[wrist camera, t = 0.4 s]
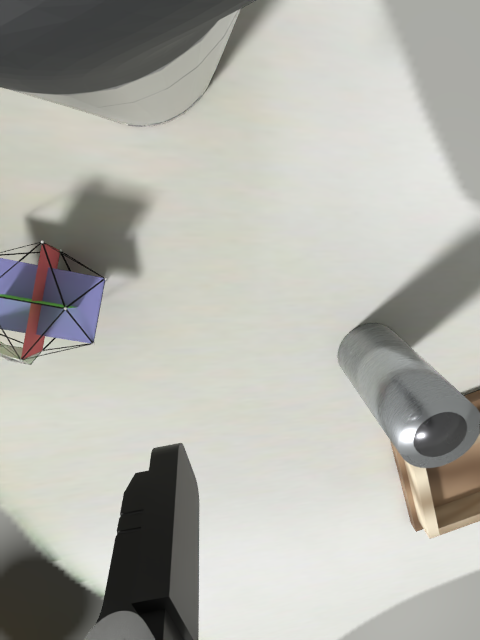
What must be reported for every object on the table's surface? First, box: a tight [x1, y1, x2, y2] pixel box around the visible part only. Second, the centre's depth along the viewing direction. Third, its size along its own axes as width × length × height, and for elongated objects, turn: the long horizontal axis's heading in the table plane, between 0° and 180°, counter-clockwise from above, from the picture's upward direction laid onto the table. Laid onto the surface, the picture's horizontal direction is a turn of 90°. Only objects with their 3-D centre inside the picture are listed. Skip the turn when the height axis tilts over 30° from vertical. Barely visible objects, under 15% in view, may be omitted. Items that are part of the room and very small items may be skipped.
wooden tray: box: [390, 390, 480, 539], centre depth 37 cm, size 14×12×3 cm
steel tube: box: [338, 323, 480, 468], centre depth 27 cm, size 5×5×10 cm
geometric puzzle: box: [0, 240, 107, 365], centre depth 24 cm, size 7×7×8 cm
